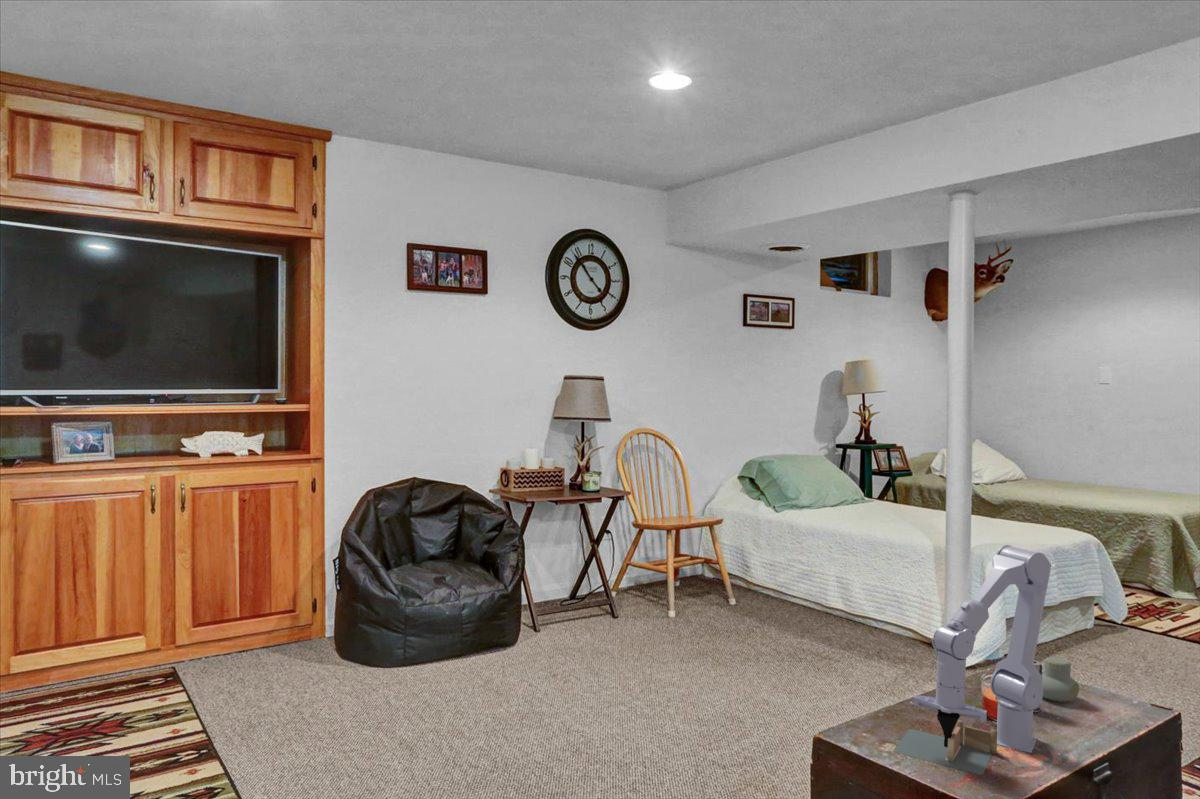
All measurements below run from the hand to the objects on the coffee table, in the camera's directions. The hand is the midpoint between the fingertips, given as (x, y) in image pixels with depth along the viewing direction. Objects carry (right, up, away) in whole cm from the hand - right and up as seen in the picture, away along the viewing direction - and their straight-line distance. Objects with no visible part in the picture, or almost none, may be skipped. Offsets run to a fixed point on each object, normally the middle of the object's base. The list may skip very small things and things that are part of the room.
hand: (948, 745), depth 183 cm
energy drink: (+32, -3, +28) cm, 43 cm away
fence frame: (+8, -2, +3) cm, 8 cm away
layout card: (0, -2, +2) cm, 3 cm away
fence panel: (+1, -2, 0) cm, 2 cm away
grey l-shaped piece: (+43, -3, +36) cm, 56 cm away
